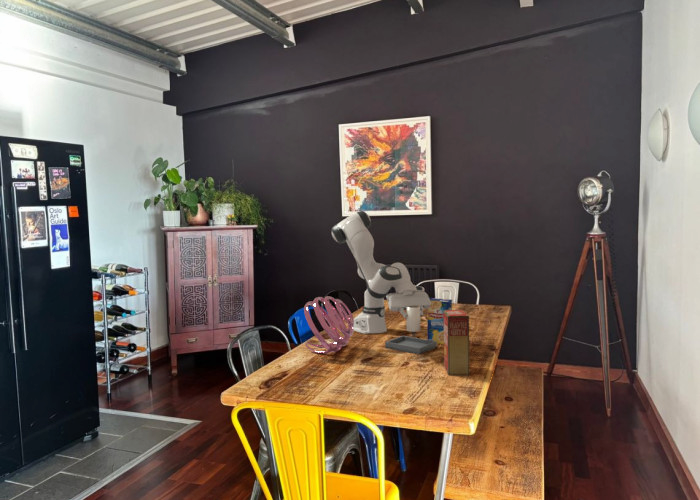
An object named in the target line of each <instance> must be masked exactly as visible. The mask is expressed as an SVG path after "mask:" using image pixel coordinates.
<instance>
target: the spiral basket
mask: <svg viewBox="0 0 700 500" xmlns="http://www.w3.org/2000/svg"><path fill="white" fill-rule="evenodd" d="M330 300H331V301H332V302H333V303H334V305H335V307H336V308H335V307H334V306H333V305H332V303H331V302H330ZM319 302H322V303H323V304H324V307H325V309H324V308H323V307H321V306H320V305H319ZM309 306H311V307H313V310H314V313H315V317H316V318H317V320H318V322H319V323H320V326H321V327H322V328H323V331H325V333H326V334H327V335H328V336H329V338H330V339H332V341H333V342H330V343H329V342H327V340H325V338H324V337H323V336H322V335H321V333H320V332H319V330H318V329H317V327H316V325H315V323H314V322H313V320H312V317H311V314H310V311H309ZM303 311H304V312H303V313H304V316H305V319H306V322H307V325H308V326H309V328H310V330H311V331H312V333H313V335H314V336H315V338H316V339H317V340H318V341H319V343H320V344H316V343H312V342H309V341H307V342H306V343H305V347H306V348H307V349H308V350H309V351H311V352H313V353H316V354H320V355H321V354H330V353H337V352H339V351H341V350H342V348H343V347H345V346H346V345H348V343H349V342H350V337H352V336H353V335H354V331H353V326H354V316H353V314H352V312H351V311H350V309H349V308H348V306H347V305H346V304H345V303H344V302H343V300H341V299H338V298H334V297H332V296H328V295H327V296H324V297H323V296H318V297H315V298H314V299H313V301H308V302H306V303H305V305H304V307H303ZM347 312H348V313H347ZM346 324H347V325H348V326H347V325H346ZM338 330H339V331H338ZM339 332H340V333H342V334H343V336H342V337H341V335H340V333H339ZM310 346H312V347H317V348H325V349H326V350H325V351H320V350H319V351H318V350H316V349H312V347H310Z"/></svg>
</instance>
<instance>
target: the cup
mask: <svg viewBox="0 0 700 500" xmlns="http://www.w3.org/2000/svg"><path fill="white" fill-rule="evenodd" d="M420 312H421V311H420V306H406V310H405V313H407V315H408V317H407V318H405V320H406V331H407V332H413V333H415V332H420V331H421V317H420Z"/></svg>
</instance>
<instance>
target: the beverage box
mask: <svg viewBox="0 0 700 500" xmlns="http://www.w3.org/2000/svg"><path fill="white" fill-rule="evenodd" d="M429 299H430V301H431V305H430V307H429V308H428V309H426V310H427V312H426V313H427V318H426V319H427V323H426V325H427V327H426V328H427V331H426V332H427V339H426V340H431V341H437V344H438V345H444V314H443V311H444V310H453V306H452V305H453V300H452V299H448V298H447V299H446V298H435V297H433V298H429Z"/></svg>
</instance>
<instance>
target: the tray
mask: <svg viewBox="0 0 700 500" xmlns="http://www.w3.org/2000/svg"><path fill="white" fill-rule="evenodd" d="M384 347H385V349H390V350H394V351H398V352H399V351H400V352H404V353H410V354H415V355H422V354H424V353H426V352H430V351H431V350H435V349H436V348H438V347H437V341H431V340H427V339H424V338H421V337H420V338H417V337H414V336H407V335H401V336H398V337H396V338H393V339H392V338H391V339H389V340H387V341H385V342H384Z"/></svg>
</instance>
